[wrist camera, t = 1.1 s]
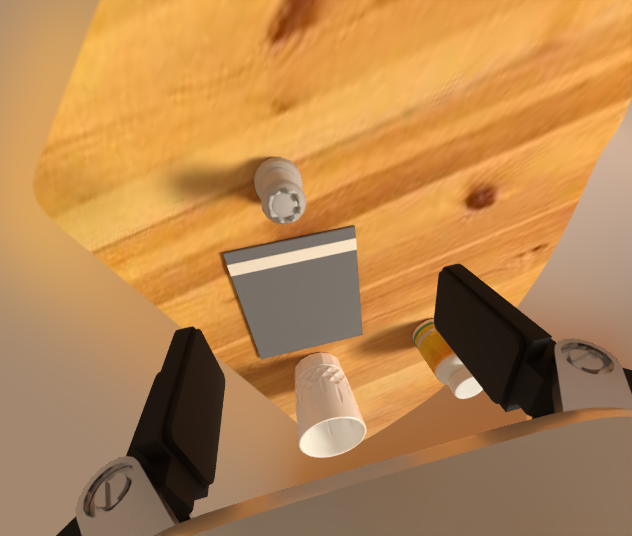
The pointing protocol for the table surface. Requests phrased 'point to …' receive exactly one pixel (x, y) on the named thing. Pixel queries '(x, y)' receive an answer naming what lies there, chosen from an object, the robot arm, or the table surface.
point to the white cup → (325, 407)
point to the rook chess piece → (280, 190)
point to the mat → (299, 290)
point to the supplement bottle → (444, 361)
